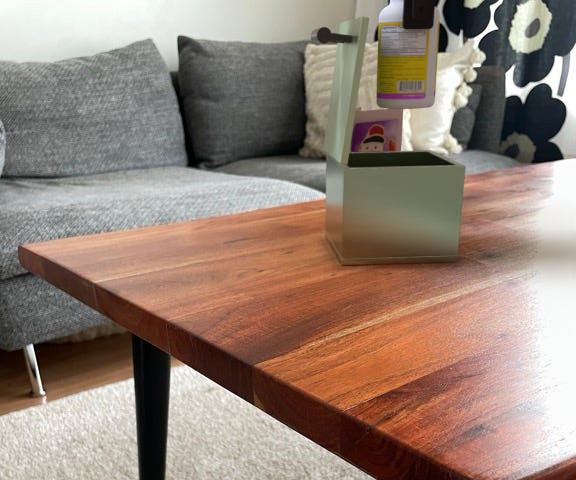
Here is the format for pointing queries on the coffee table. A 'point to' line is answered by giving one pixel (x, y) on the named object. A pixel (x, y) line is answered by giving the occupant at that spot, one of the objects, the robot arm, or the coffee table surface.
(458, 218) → the bin
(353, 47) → the bin lid
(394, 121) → the purple cartoon box
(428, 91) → the supplement bottle
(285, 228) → the coffee table surface
